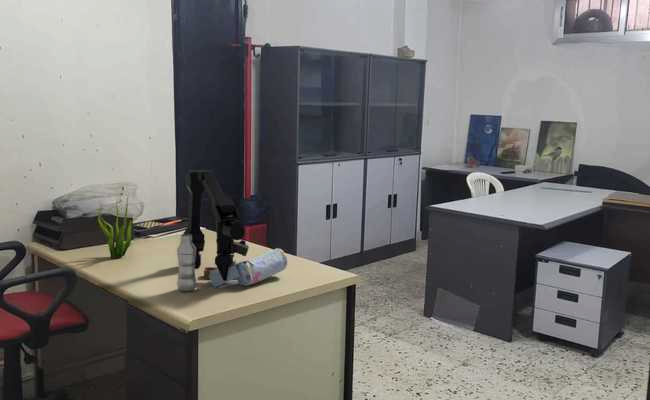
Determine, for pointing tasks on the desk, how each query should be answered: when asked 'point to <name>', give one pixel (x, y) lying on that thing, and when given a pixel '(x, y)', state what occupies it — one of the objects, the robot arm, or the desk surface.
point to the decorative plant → (117, 235)
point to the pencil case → (261, 267)
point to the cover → (217, 277)
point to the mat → (225, 285)
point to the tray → (208, 272)
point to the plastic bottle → (186, 264)
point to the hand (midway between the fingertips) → (225, 277)
